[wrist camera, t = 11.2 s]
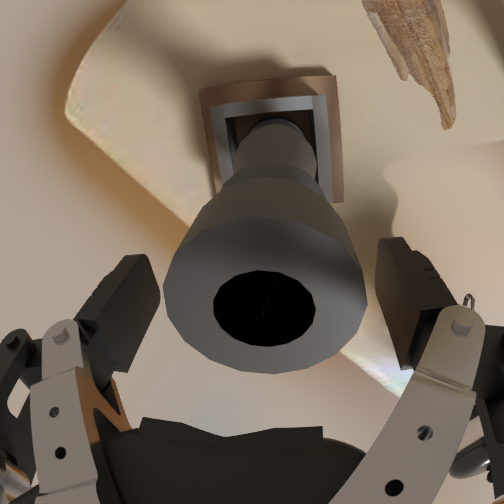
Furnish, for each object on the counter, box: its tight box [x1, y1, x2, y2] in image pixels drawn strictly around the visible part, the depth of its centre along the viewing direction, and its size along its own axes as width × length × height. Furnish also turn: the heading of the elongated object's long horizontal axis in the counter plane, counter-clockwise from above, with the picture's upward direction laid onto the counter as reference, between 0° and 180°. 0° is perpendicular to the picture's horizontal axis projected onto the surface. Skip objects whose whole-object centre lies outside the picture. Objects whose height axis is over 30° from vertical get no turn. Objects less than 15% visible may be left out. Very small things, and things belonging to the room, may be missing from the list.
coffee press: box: [448, 294, 493, 483], centre depth 30 cm, size 17×16×30 cm
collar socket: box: [199, 75, 344, 203], centre depth 28 cm, size 14×14×6 cm
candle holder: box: [163, 115, 368, 374], centre depth 19 cm, size 6×6×25 cm
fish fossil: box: [362, 0, 456, 131], centre depth 22 cm, size 26×10×1 cm, turn 26°
